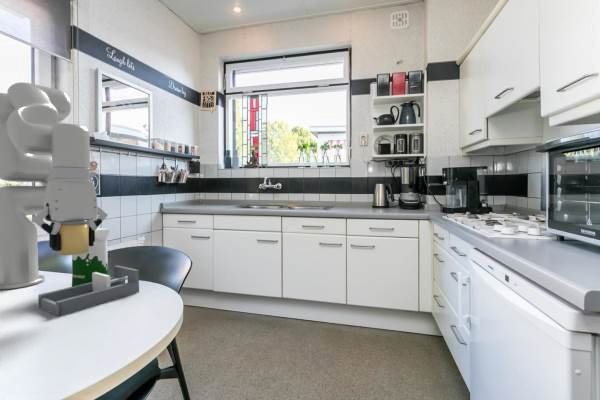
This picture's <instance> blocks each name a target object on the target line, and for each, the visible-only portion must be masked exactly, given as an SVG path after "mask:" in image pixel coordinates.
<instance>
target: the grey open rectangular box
mask: <svg viewBox="0 0 600 400" xmlns="http://www.w3.org/2000/svg"><path fill="white" fill-rule="evenodd" d="M113 268H114V269H113V271H114V276H112V277H111V276H110V280H112V279H117V278H121V277H125V276H126V275H127V276H128V279H127V282H126V280H123V281H119V282H115V283H111V284H110V286H111V287H109V288H105V289H102V290H98V291H94V292H93V283H92V282H90V283H86V284H81V285H77V286H73V287H72V286H70V287H65V288H61V289H60V288H59V289H57V290H53V291H49V292H48V291H47V292H44V293H40V294H38V308H40V309H42V310H44V311H47V312H50V313H51V314H53V315H56V316H58V317H59V316H62V315H66V314H70V313H73V312H76V311H79V310H83V309H86V308H90V307H93V306H97V305H101V304H104V303H107V302H109V301H112V300H116V299H119V298H123V297H127V296H130V295H132V294H133V293H134V294H136V292H137V293H140V271H139V269H136V268H132V267H127V266H122V265H114V267H113Z"/></svg>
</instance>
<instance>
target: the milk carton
mask: <svg viewBox="0 0 600 400" xmlns="http://www.w3.org/2000/svg"><path fill="white" fill-rule="evenodd" d="M110 230H111V228H106V227H105V228H104V227H103V228H101V227H100V228H98V227H97V229H96V230H95V242H94V245H93V246H89V252H87V253H83V254H76V255H71V265H72V266H71V268H72V269H71V270H72V271H71V272H72V273H71V274H72V275H71V287H73V286H77V285H81V284H86V283H90V282H92V273H94V272H98V273H102V274H106V275H110V274H109V264H108V263H109V259H108V257H109V256H108V241H109V235H110Z"/></svg>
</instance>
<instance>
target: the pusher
mask: <svg viewBox="0 0 600 400" xmlns="http://www.w3.org/2000/svg"><path fill="white" fill-rule="evenodd" d="M110 278H111V275H110V274H109V275H106V274H102V273H98V272H94V273H92V283H93V292H94V291H98V290H102V289H105V288H109V287H111V286H110V284H111V283H115V282H119V281H123V280H125V281H126V280H128V275H125V277H121V278H117V279H112V280H110Z"/></svg>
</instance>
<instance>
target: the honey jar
mask: <svg viewBox="0 0 600 400" xmlns="http://www.w3.org/2000/svg"><path fill="white" fill-rule="evenodd" d="M58 234H60V235H61V250H60V251H56V255H57V256H72V255H76V254H83V253H87V252H89V220H80V221H67V222H61V227H60V229H59V231H58Z"/></svg>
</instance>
